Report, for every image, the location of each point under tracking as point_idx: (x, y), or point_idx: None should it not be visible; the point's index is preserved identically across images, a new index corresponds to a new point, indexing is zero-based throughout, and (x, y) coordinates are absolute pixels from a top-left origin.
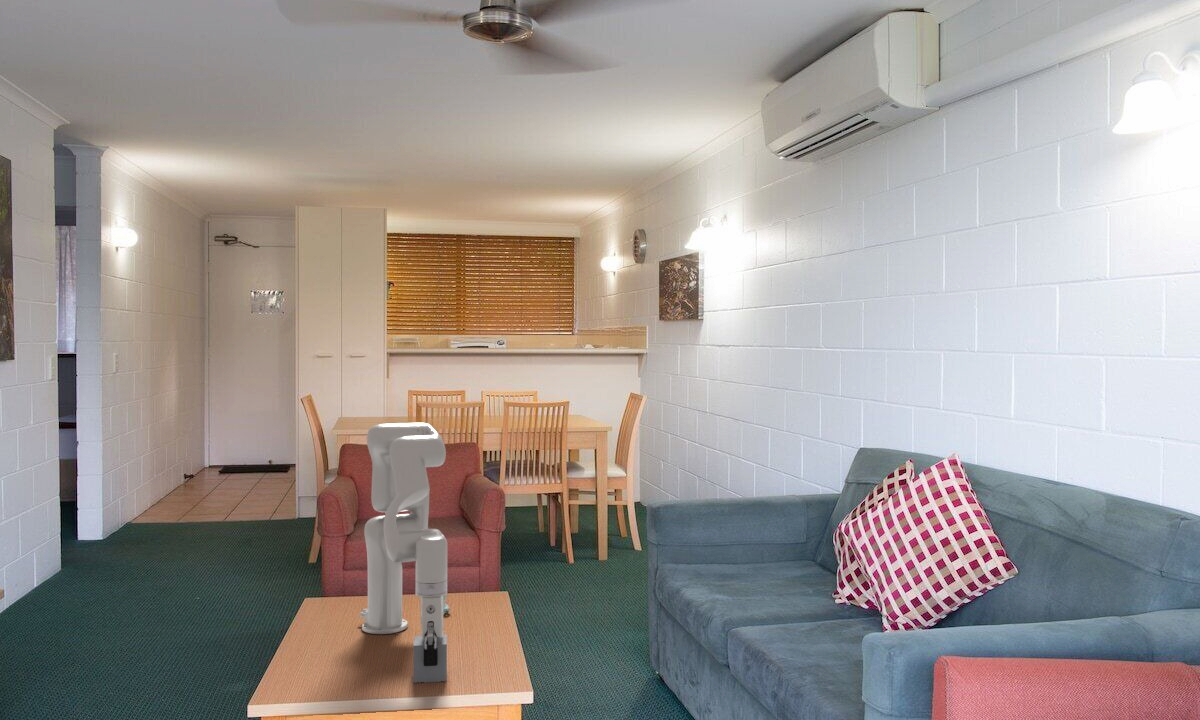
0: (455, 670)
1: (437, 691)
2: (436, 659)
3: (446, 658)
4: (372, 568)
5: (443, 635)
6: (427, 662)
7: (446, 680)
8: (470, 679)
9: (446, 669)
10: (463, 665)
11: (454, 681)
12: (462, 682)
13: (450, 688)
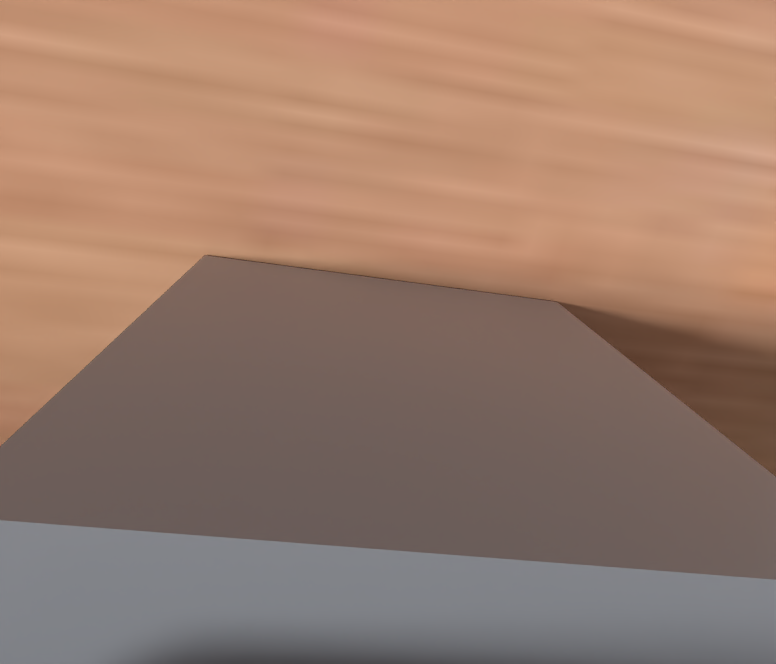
0: (229, 154)
1: (773, 408)
2: None
3: (692, 411)
4: None
5: (49, 616)
6: None
7: (558, 304)
8: (596, 20)
9: (612, 346)
10: (50, 15)
11: (586, 219)
12: (651, 136)
13: (759, 286)
